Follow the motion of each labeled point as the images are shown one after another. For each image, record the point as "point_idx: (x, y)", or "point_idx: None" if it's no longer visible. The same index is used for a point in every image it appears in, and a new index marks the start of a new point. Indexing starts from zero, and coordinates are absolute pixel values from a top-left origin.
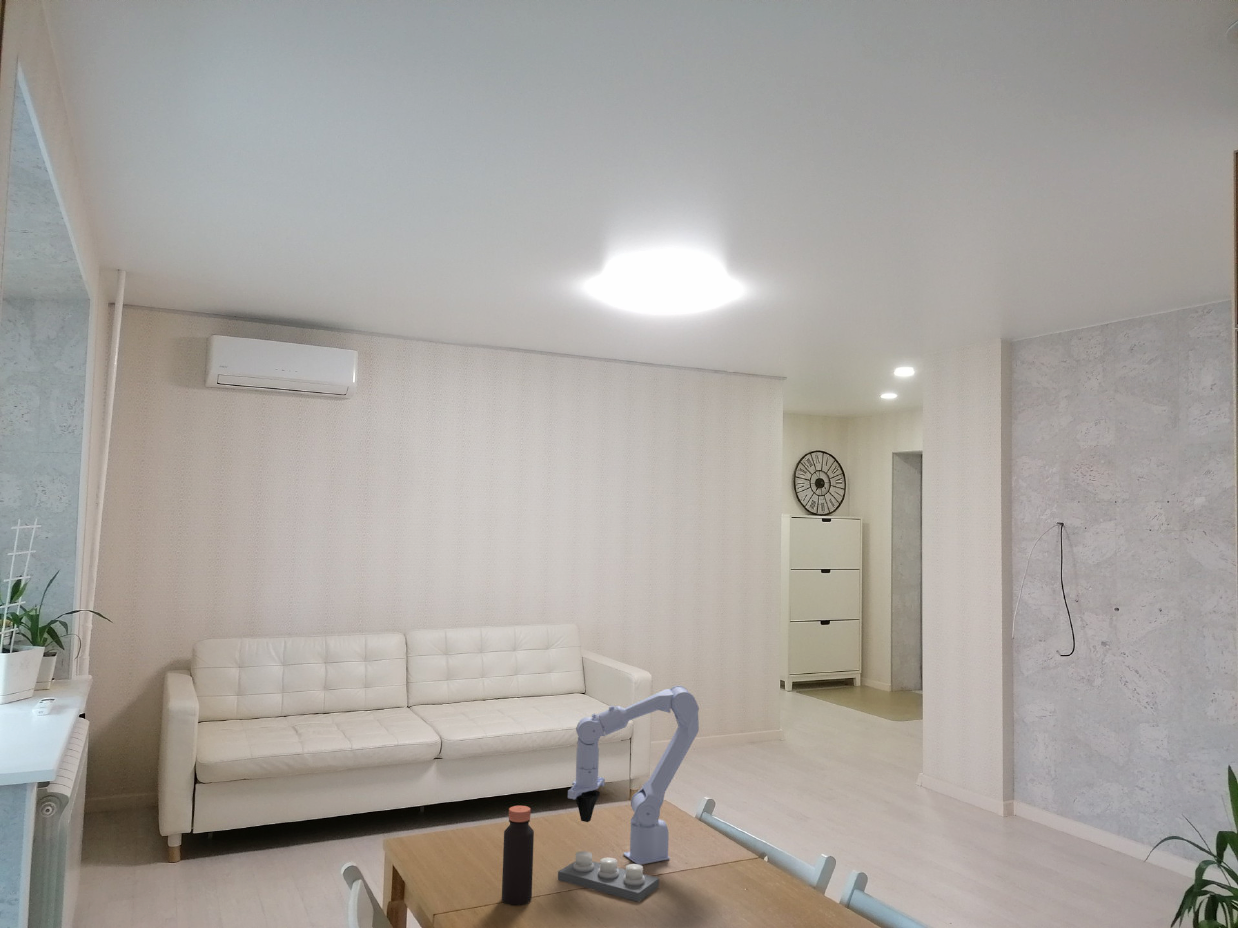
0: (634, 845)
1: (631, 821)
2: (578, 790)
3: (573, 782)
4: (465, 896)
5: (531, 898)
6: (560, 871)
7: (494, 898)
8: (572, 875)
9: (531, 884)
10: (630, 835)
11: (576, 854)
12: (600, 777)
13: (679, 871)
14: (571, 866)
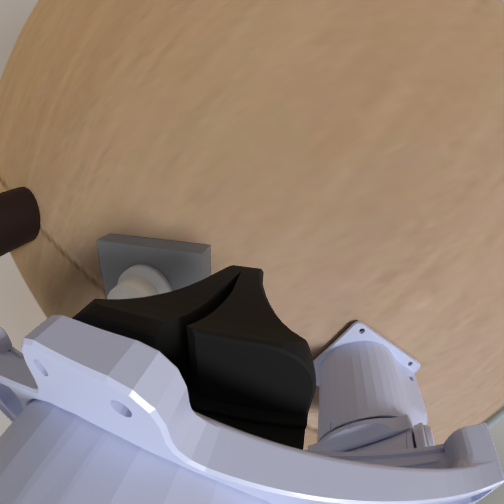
0: (323, 386)
1: (340, 430)
2: (9, 415)
3: (33, 363)
4: (5, 134)
5: (33, 239)
6: (99, 246)
7: (15, 178)
8: (103, 282)
9: (13, 249)
10: (350, 385)
11: (114, 290)
12: (477, 498)
13: (306, 428)
14: (136, 257)
